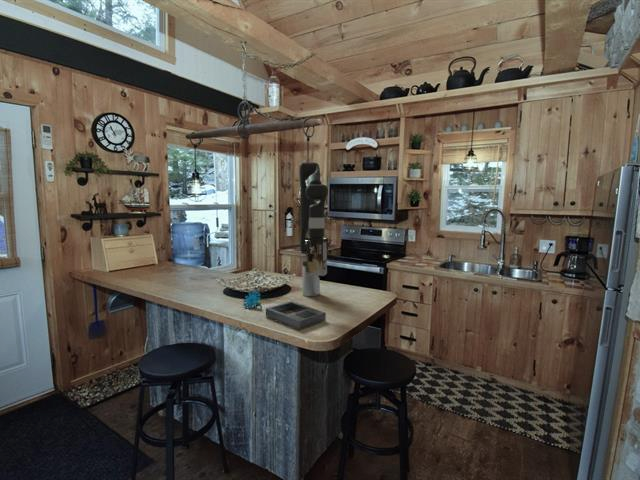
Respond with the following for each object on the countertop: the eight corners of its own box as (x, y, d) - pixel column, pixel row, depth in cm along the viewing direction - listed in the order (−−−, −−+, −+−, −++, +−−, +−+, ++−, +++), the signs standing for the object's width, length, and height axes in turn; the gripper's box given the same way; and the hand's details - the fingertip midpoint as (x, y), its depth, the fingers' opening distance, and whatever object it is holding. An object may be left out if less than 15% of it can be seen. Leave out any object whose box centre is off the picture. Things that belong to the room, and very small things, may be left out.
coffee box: (327, 273, 167) (328, 241, 165) (323, 276, 161) (323, 242, 159) (310, 272, 170) (310, 240, 168) (305, 274, 164) (305, 241, 162)
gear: (238, 303, 176) (251, 287, 180) (245, 309, 180) (256, 293, 184) (252, 311, 169) (264, 294, 173) (258, 316, 173) (270, 300, 177)
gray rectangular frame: (291, 308, 174) (291, 300, 173) (325, 321, 157) (325, 312, 156) (265, 316, 162) (265, 307, 162) (299, 330, 146) (299, 320, 145)
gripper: (321, 225, 170) (320, 257, 172) (300, 227, 160) (300, 261, 162) (332, 226, 165) (332, 259, 167) (311, 228, 155) (311, 263, 157)
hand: (316, 260), depth 165 cm, fingers closed on coffee box, 8 cm apart
